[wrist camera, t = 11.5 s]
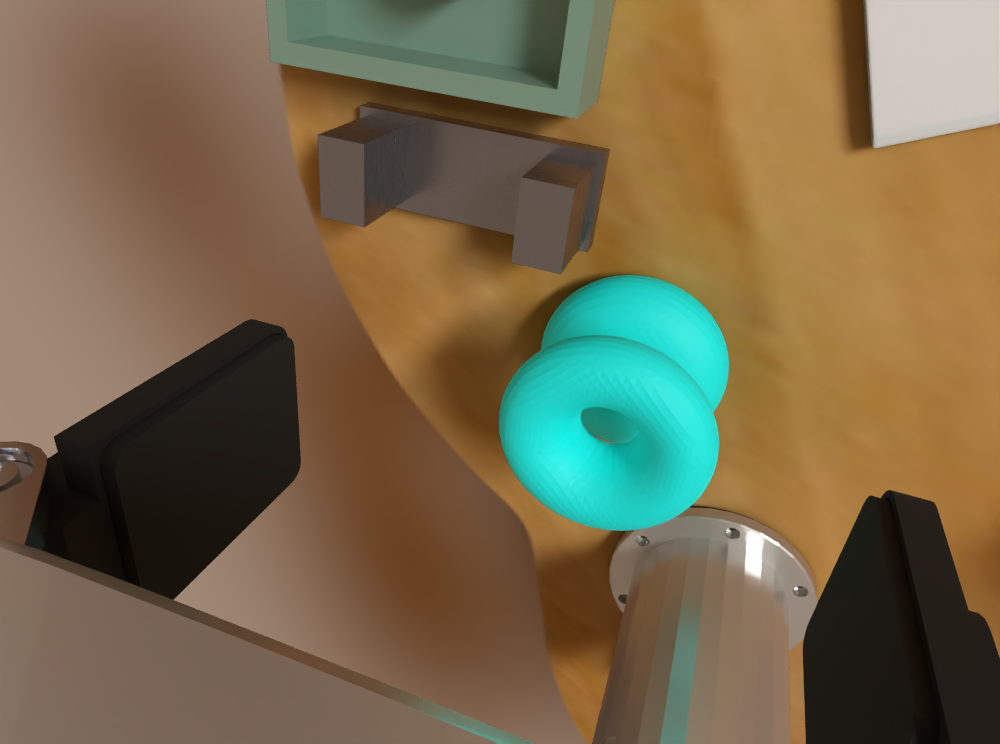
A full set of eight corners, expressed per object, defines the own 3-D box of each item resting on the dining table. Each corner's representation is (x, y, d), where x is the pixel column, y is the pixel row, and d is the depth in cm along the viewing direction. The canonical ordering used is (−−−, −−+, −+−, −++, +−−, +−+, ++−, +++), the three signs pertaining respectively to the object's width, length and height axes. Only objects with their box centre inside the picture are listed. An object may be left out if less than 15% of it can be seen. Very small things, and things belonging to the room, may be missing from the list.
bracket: (609, 148, 34) (583, 178, 29) (591, 245, 36) (565, 285, 32) (368, 102, 37) (311, 122, 32) (368, 194, 39) (315, 225, 35)
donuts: (575, 568, 34) (448, 415, 32) (614, 451, 42) (515, 323, 40) (763, 501, 29) (625, 312, 27) (767, 381, 37) (661, 230, 35)
